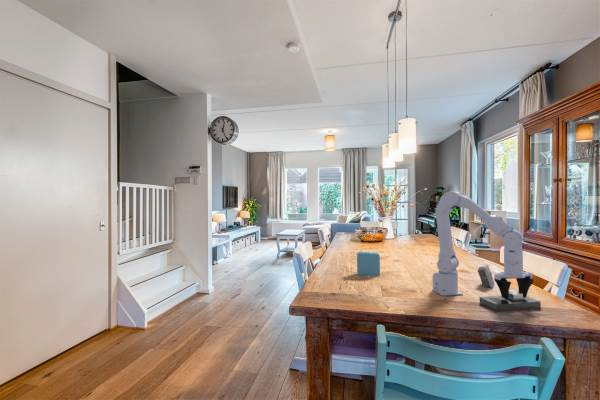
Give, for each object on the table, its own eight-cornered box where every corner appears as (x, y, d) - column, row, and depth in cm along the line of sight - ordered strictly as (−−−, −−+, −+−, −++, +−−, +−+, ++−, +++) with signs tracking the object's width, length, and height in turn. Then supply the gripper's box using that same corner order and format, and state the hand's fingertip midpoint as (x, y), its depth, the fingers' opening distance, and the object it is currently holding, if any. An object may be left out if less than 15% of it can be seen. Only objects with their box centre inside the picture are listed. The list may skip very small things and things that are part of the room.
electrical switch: (493, 288, 125) (490, 268, 126) (479, 287, 128) (476, 267, 129) (494, 283, 133) (492, 264, 133) (481, 283, 136) (479, 263, 136)
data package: (379, 274, 153) (379, 252, 153) (380, 276, 148) (379, 253, 148) (357, 273, 155) (357, 251, 155) (357, 275, 151) (356, 253, 151)
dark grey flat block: (497, 311, 100) (496, 304, 100) (479, 303, 108) (479, 296, 108) (540, 308, 102) (540, 301, 102) (520, 300, 110) (520, 294, 110)
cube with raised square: (513, 307, 103) (513, 294, 103) (504, 303, 107) (504, 290, 107) (523, 307, 104) (522, 293, 104) (513, 303, 108) (513, 289, 108)
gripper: (505, 264, 100) (506, 302, 100) (540, 263, 102) (541, 299, 102) (489, 260, 107) (490, 295, 107) (522, 259, 109) (523, 293, 109)
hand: (513, 297), depth 105 cm, fingers open, 7 cm apart
